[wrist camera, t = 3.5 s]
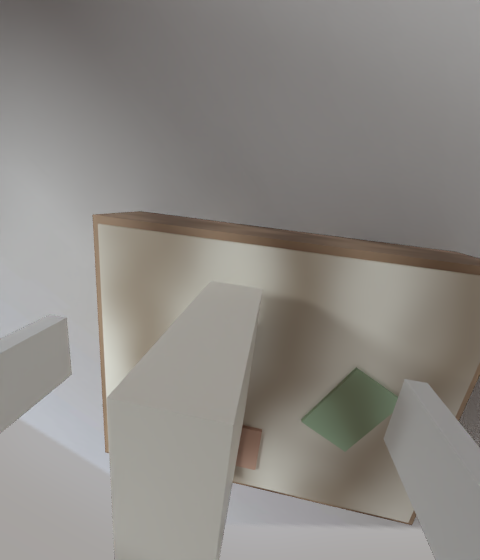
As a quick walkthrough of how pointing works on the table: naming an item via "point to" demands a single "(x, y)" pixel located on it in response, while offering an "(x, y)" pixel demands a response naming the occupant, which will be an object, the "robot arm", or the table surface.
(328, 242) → the switch box
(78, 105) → the table surface
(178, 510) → the switch lever
